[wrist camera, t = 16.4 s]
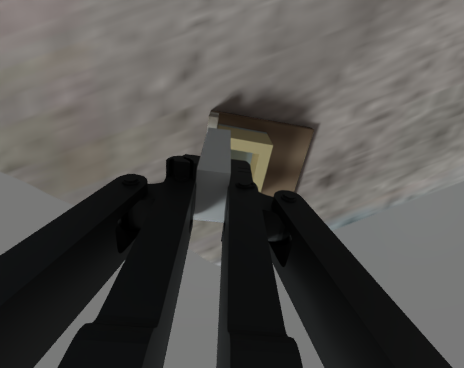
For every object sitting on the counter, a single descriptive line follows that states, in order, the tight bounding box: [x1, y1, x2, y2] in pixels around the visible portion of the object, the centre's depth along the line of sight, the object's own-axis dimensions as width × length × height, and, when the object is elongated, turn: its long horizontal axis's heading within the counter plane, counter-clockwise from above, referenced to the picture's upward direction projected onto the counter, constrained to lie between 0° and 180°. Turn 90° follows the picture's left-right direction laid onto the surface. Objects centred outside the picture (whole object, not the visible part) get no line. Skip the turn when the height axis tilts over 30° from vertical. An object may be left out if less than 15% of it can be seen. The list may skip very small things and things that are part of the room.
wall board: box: [207, 110, 314, 197], centre depth 37 cm, size 13×15×5 cm
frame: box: [218, 124, 273, 192], centre depth 35 cm, size 11×7×6 cm, turn 169°
